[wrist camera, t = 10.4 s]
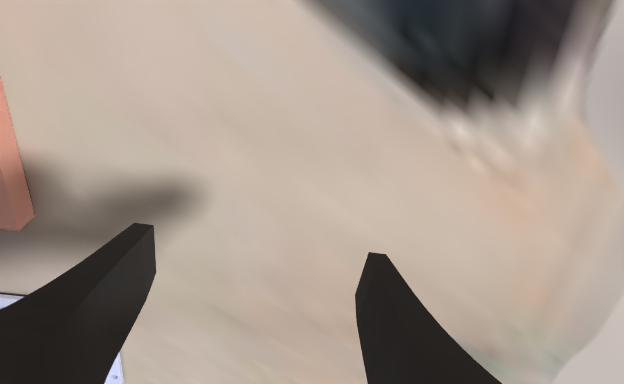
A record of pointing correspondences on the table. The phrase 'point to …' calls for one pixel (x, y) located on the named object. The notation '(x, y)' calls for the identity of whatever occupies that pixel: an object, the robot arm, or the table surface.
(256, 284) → the table surface
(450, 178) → the table surface
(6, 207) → the board
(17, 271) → the table surface
